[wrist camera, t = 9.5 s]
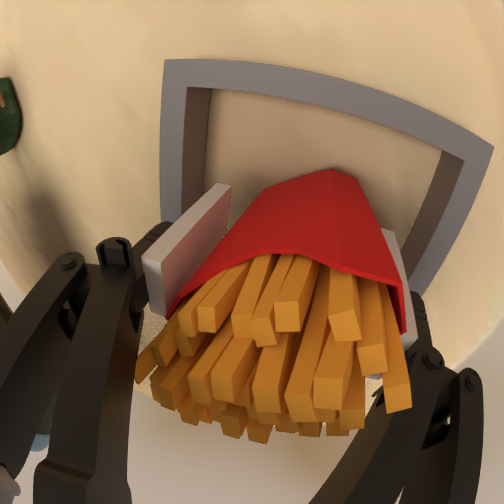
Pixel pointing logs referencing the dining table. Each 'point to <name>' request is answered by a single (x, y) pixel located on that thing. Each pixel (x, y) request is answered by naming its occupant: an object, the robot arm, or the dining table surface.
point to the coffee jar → (8, 117)
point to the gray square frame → (334, 97)
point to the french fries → (287, 318)
